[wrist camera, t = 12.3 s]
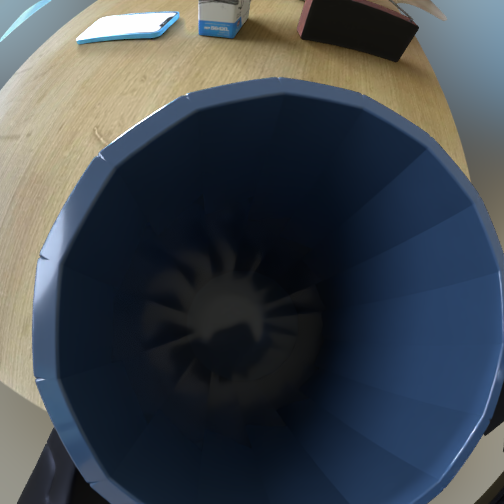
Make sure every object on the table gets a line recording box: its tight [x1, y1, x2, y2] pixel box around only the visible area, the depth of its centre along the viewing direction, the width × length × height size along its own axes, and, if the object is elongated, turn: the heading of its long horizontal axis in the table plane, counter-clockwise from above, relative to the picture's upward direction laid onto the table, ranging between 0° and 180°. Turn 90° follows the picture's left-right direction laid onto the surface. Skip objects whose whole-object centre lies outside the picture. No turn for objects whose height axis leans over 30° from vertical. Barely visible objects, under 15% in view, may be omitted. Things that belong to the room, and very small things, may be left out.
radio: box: [297, 0, 419, 62], centre depth 23 cm, size 19×3×15 cm, turn 95°
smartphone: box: [76, 12, 179, 44], centre depth 26 cm, size 8×1×15 cm
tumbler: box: [32, 77, 504, 504], centre depth 9 cm, size 7×7×13 cm
